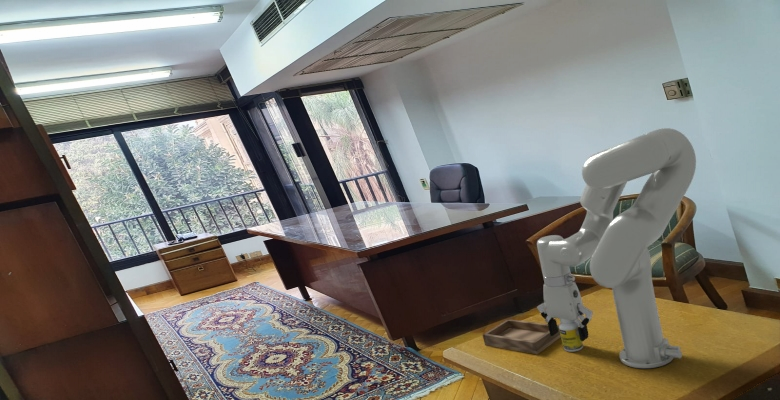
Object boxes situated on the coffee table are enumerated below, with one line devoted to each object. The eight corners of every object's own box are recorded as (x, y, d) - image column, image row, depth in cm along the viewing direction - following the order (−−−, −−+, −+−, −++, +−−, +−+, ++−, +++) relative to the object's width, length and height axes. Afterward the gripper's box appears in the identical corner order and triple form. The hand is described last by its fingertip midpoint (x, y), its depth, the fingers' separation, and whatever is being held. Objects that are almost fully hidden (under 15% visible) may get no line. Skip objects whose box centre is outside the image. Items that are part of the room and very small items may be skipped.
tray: (562, 336, 161) (559, 325, 161) (537, 354, 153) (534, 343, 153) (510, 329, 177) (507, 319, 176) (484, 345, 169) (482, 334, 168)
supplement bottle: (560, 351, 151) (553, 319, 150) (568, 343, 155) (561, 311, 154) (579, 353, 148) (571, 319, 147) (586, 344, 152) (579, 312, 151)
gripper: (592, 276, 145) (604, 335, 147) (539, 273, 159) (550, 327, 161) (578, 286, 141) (589, 346, 142) (524, 281, 154) (536, 337, 156)
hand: (569, 336), depth 151 cm, fingers open, 9 cm apart
